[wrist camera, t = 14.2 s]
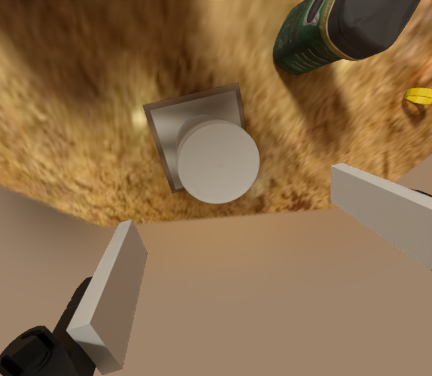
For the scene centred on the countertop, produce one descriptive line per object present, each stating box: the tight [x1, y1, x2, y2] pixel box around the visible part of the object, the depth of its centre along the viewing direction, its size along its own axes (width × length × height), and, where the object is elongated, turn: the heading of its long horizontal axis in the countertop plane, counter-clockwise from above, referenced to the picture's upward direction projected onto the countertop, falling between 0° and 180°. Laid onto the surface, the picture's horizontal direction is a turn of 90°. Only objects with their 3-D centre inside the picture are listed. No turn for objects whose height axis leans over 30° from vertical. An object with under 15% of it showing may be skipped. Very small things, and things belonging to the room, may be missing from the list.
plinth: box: [143, 83, 246, 193], centre depth 38 cm, size 16×16×4 cm
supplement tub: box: [176, 114, 260, 204], centre depth 30 cm, size 10×10×15 cm
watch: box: [404, 88, 432, 105], centre depth 41 cm, size 6×3×6 cm, turn 73°
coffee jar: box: [273, 0, 421, 75], centre depth 28 cm, size 10×8×19 cm
